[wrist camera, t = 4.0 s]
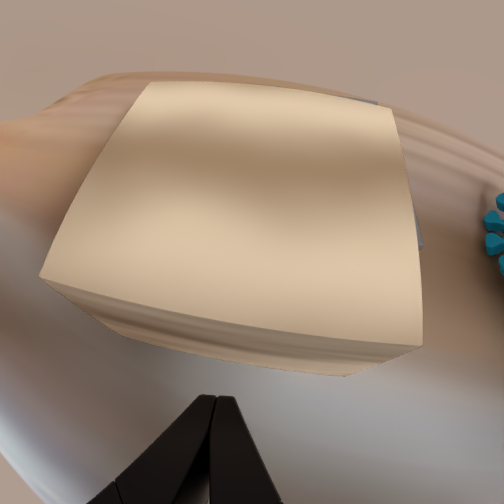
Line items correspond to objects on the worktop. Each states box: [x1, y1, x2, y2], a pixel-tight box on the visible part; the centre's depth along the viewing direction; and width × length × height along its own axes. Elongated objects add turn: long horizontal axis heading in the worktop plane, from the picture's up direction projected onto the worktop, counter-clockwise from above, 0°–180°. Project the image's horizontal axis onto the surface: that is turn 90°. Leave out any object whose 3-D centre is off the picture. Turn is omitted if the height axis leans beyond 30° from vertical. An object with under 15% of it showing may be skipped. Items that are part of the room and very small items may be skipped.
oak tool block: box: [38, 82, 423, 377], centre depth 13 cm, size 10×11×8 cm
